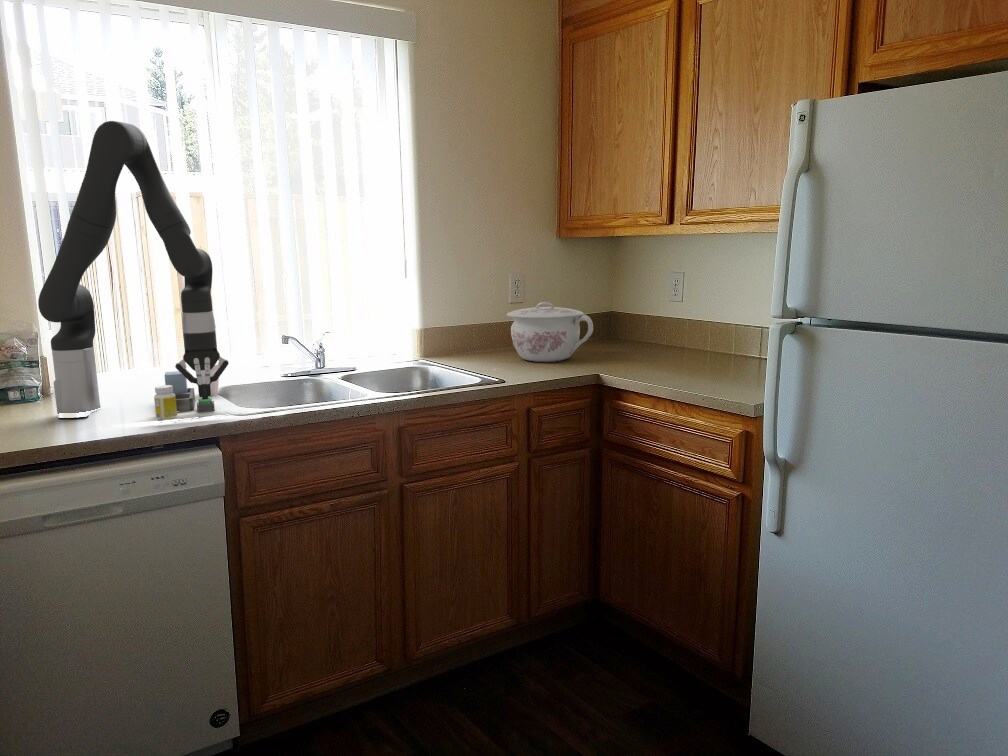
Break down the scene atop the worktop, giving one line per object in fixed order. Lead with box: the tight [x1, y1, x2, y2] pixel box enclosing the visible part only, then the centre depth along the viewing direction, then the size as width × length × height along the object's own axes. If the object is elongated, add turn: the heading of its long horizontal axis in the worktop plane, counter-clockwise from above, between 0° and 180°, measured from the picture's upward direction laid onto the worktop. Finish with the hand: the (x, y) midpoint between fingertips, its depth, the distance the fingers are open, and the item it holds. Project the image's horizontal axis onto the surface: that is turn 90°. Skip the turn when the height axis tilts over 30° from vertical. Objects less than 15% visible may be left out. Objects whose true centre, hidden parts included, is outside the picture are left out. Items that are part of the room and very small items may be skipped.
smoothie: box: [201, 362, 220, 396], centre depth 211 cm, size 6×6×14 cm
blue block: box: [164, 370, 189, 394], centre depth 200 cm, size 5×5×8 cm
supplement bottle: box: [153, 385, 178, 419], centre depth 186 cm, size 5×5×8 cm
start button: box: [197, 396, 213, 405], centre depth 191 cm, size 3×3×4 cm
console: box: [196, 400, 216, 413], centre depth 191 cm, size 4×4×3 cm
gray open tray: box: [175, 387, 196, 413], centre depth 197 cm, size 8×17×4 cm, turn 21°
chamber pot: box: [506, 301, 594, 363], centre depth 269 cm, size 28×28×21 cm
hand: (205, 398), depth 191 cm, fingers closed
